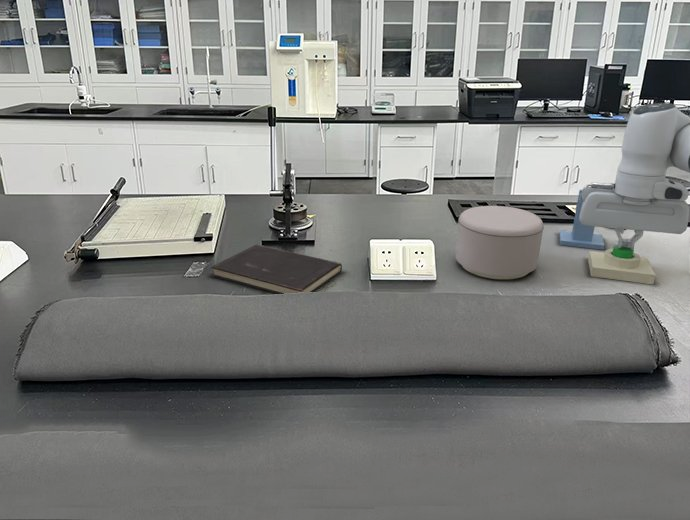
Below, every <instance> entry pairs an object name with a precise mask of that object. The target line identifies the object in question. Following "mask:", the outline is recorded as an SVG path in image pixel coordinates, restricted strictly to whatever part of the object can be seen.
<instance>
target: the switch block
mask: <svg viewBox="0 0 690 520" xmlns="http://www.w3.org/2000/svg"><path fill="white" fill-rule="evenodd" d="M612 252H613V248H608V249H607V250H605V251H604V252H602V251H595V250H594V251H593V250H589V252H588V256H587V262H588V269H589V273H590V277H592V278H602V279H610V280H617V281H624V282H630V283H631V282H632V283H639V284H640V283H641V284H647V285H654V282H655V278H656V273H655V271H654V269H653V266H652V264H651V261H650V260H649V258H648V257H645V256H644V257H643V256H641V255H639V254H638V253H636V252H634V253H633V257H632V259H624V258H618V257H615V256H613V255H612Z"/></svg>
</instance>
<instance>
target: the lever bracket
mask: <svg viewBox="0 0 690 520" xmlns="http://www.w3.org/2000/svg"><path fill="white" fill-rule="evenodd" d="M582 190H583V189H579V190H578V196H577V201H576V207H575V213H574V219H573V225H572V230H571V231H569V230H561V229H560V230H559V234H558V235H559V245H560V246H567V247H575V248H584V249H591V250H600V251H604V250H605V242H604V238H603V235H602V234H599V233H598V234H597V233H594V231H595V227H596V226H586V225H582V223H581V222H580V220H579V215H580V211H581V207H582V204H583V201H582V198H581V196H582Z"/></svg>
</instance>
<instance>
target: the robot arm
mask: <svg viewBox="0 0 690 520" xmlns="http://www.w3.org/2000/svg"><path fill="white" fill-rule="evenodd" d="M670 167H674V168H676V169H678V170H680V171H683V172H686V173H689V174H690V116H689V115H686V114H685V113H684V112H682V111H681V110H679V108H678V107H677V105H675V104H673V103H668V102H659V103H657V102H654V103H648V104H643V105H639V107H637V108H635V109H634V110H633V111H632V113H630V116H629V118H628V120H627V123H626V127H625V131H624V135H623V140H622V144H621V160H620V162H619V164H618V166H617V171H616V175H615V180H614V183H610V182H596V181H595V182H591V183H589V184H586V185H584V187H583V188H582V189H581V190H582V196H581V198H582V201H583V204H582V207H581V211H580V215H579V220H580V222H581V223H582V225H586V226H595V227H598V228H606V229H607V228H608V229H613V228H615V229H614V231H615V234H616V236H617V238H618V241H617V246H618V248H624V249H635V244H636V243H638V241H639V240H640V239H641V238H642V237H643V236H644V232H651V233H652V232H653V233H662V234H672V235H673V234H674V235H682V234H683V233H684V232H686V231H687V229H688V224H689V220H690V219H689V218H690V217H689V216H690V207H689V204H688V202H687V201H686V200H688V198H689V189H688V188H687V187H686V186H685V185H684V184H682V183H680V182H678V181H675V180H672V179H670V178H666V176H667V172H668V171H667V170H668V169H669V168H670ZM624 229H627V230H628V231H629V230H631V231H633V232H634V235H632V237H631V238H623V236H622V234H624V232H625V230H624Z"/></svg>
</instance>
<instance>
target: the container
mask: <svg viewBox="0 0 690 520" xmlns="http://www.w3.org/2000/svg"><path fill="white" fill-rule="evenodd" d="M457 221H458V224H457V236H456V237H457V238H456V245H455V246H456V247H455V257H454V258H455V260H456V261H457V262H458V264H459V265H461V266H462V268H463V269H464V270H466V271H467V272H469V273H471V274H473V275H476V276H479V277H483V278H486V279H493V280H514V279H519V278H523V277H525V276H526V275H528V274H529V273H532V272H533V271H535V270H536V269H538V265H539V264H538V263H539V258H540V252H541V244H542V239H543V233H544V232H543V231H544V227H545V226H544V222H543V220H542V219H541V217H539V216H538V215H537V214H535V213H533V212H531V211H528V210H525V209H522V208H517V207H512V206H504V205H481V206H473V207H470V208H468V209H465V210H464V211H462V212H461V213H460V215H459V217H458V220H457Z"/></svg>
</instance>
